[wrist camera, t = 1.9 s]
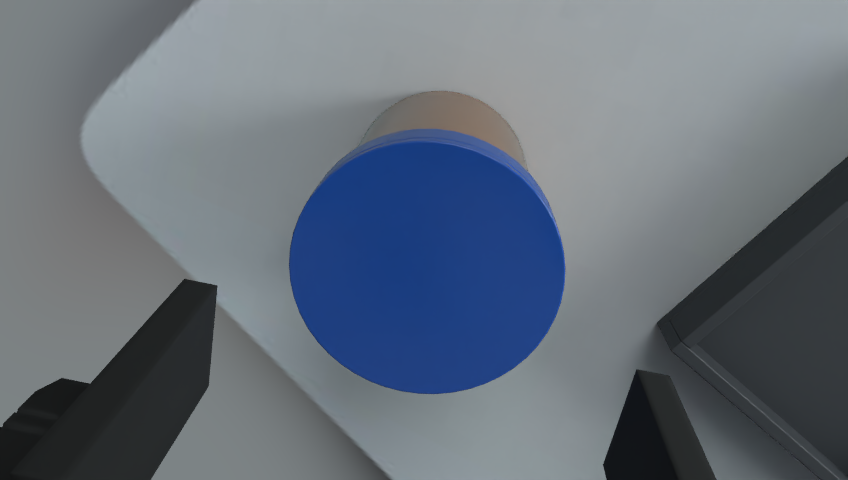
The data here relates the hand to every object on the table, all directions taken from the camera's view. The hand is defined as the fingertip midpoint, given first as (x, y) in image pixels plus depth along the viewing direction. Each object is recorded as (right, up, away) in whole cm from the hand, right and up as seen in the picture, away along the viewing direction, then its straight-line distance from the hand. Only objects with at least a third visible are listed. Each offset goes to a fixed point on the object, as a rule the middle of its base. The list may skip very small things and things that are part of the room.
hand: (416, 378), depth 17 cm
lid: (0, +2, +6) cm, 6 cm away
